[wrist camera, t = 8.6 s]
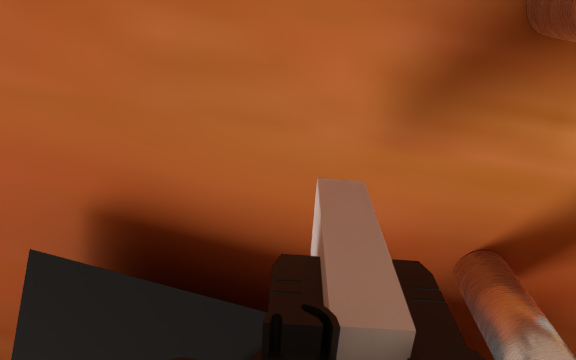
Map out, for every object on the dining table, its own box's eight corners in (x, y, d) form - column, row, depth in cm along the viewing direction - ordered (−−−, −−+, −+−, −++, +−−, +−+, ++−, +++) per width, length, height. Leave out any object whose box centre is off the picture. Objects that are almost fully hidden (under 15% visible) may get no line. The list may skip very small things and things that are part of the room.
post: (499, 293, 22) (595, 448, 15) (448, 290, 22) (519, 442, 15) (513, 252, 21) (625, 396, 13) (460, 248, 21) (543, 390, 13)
